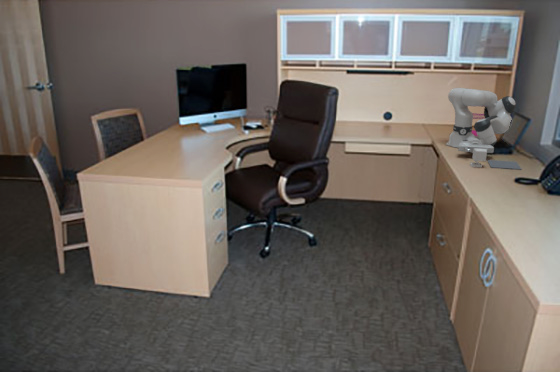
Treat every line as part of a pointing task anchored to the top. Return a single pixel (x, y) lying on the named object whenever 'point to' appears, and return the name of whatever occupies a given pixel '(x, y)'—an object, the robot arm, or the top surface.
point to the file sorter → (476, 118)
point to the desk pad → (504, 164)
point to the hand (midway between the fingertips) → (476, 151)
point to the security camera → (478, 156)
